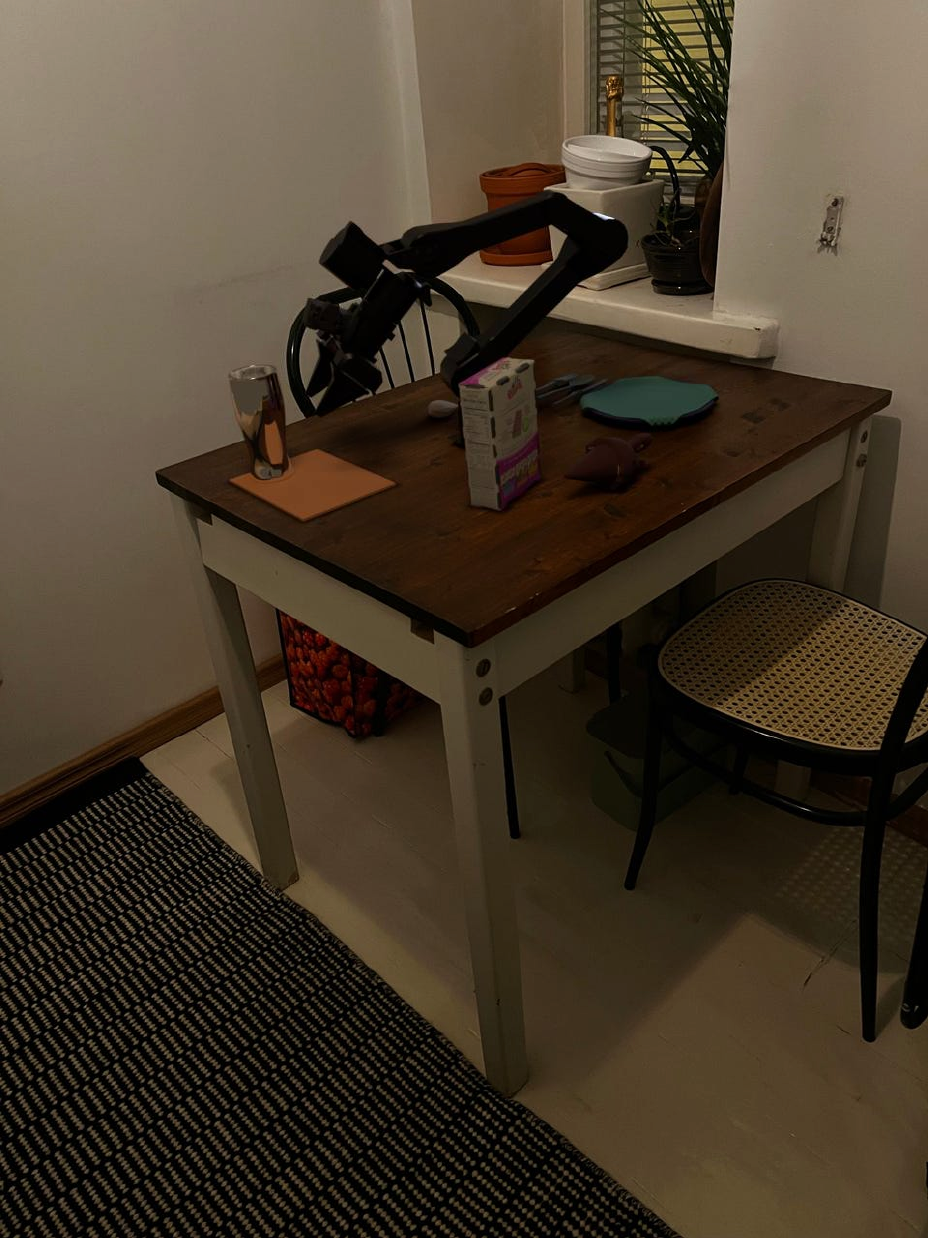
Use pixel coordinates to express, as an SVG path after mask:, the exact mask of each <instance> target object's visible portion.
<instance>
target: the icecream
mask: <svg viewBox="0 0 928 1238" xmlns="http://www.w3.org/2000/svg"><path fill="white" fill-rule="evenodd" d="M653 441H654V438H653V436H652V435H651V434H650V433H649V432H641V433H638V434H636V435H634V436H633V437H632V439H630V441H628V442H627V441H625V440H624V439H623V438H620V437H618V436H616V437H602V436H599V437H596V438H595V439H593V440H592V441H590V442H588V443H587V444H585V454H584V456H582V457H581V458H580V459H579V460H578V461H577V462H576V463H574V464H573V465H572V466H571V467H570V468H569V469H568V470H566V472H564V473H563V475H562V476H563V478H564V479H566V480H572V481H573V480H574V481H578V482H579V481H581V482H587V483H593V484H594V485H596V487H597V488H600V489H603V490H606V491H609V492H614V491H615V490H617V488H618V487H620V486H621V485H624V484H626V483H628V482H629V481H630V479H631V477H632V476H633V475H634V474H637V473H639V472H641V471H642V470H643V469H644V467H645V461H644V460H643V459H642V458H640V457H637V454H639V453H641V452H643V451H644V450H646V449H647V448H649V447H650V446H651V445H652V443H653Z"/></svg>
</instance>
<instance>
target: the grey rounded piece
mask: <svg viewBox="0 0 928 1238" xmlns="http://www.w3.org/2000/svg"><path fill="white" fill-rule="evenodd" d="M427 408H428V415H429V416H430V417H432V418H435V419H443V418H446V417H448V416H449V415H451V414H452V413H453V412H454V411H456V409H457V408H459V406H458V403H457V404H456V403H453V402H451V401H447V400H442V399H440V400H439V399H437V400H433V401H432V402H430V403H429V404H428V405H427Z"/></svg>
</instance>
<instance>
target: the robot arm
mask: <svg viewBox="0 0 928 1238" xmlns="http://www.w3.org/2000/svg"><path fill="white" fill-rule="evenodd" d="M550 226H552V227H553V228H555V229H556V230H558V231H559V232H561V233H562V234H564V235H566V236H565V238H564V240H563V243H562V245H561V247H560V250H559V252H558V254H557V257H556V258H555V259H554V261H552V263H551V264H550V265H549V266H547V268H546V269H545V270H543V272H542V273H541V274H540V275H539V276H537V278H536V279H535V280H534V281H533V282H532V283H531V284H530V285H529V286H527V288H526V289H525V290H524V291H523V292H522V294H520V295H519V296H518V297H517V298H516V299H515V300H514V301H513V302H512V303H511V304H510V306H509V307H507V309H505V311H504V312H502V313H501V314H500V315H499V316H498V317H497V318H496V320H494V321H493V323H492V324H491V325H490V326H489V327H488V328H487V329H486V330H485V331H483V332H482V333H479V334H478V335H476V336H471V335H470V334H468V333H467V332H466V331H464V332H462V333H461V335H460V336H459V337H458V338H457V340H456V341H455V342H454V344H453V345H452V346H450V347H449V348H447V349H444V350H443V352H444V354H446V355H445V356H444V357H443V358H442V360H441V362H440V363H439V376H440V380H441V382H442V383H443V384H444V385H445V387H446V388H448V390H450V391H451V392H452V394H453V395H454V396H455V397H457V398H458V399H459V400H458V401H457V405H458V410H457V415H458V427H459V436H460V437H458V438H454V439H453V440H452V442H453V445H456V446H459V447H462V448H464V449H465V443H464V434H463V426H462V415H461V405H460V395H459V386H458V384H460V383H461V382H463V381H465V380H466V379H468V378H470V377H471V376H473V375H475V374H476V373H478V372H480V371H481V370H483V369H485V368H486V367H488V366H490V365H492V364H493V363H495V362H497V361H498V360H500V359H502V358H506V357H509V355H510V354H511V353H512V352H513V350H514V349H516V347H518V345H520V343H521V342H522V341H523V340H525V339H526V337H527V336H528V335H530V333H531V332H533V331H534V329H536V327H537V326H538V325H539V324H540V323H542V321H543V320H545V318H546V317H548V315H550V314H551V312H552V311H553V310H554V309H555V308H556V307H557V306H559V304H560V303H561V302H562V301H563V300H564V299H565V298H566V297H567V296H568V295H569V294H570V293H571V292H572V291H573V290H574V289H576V287H577V286H578V285H579V284H581V283H582V282H584V281H587V280H588V279H591V278H592V277H594V276H597V275H599V274H601V273H603V272H604V271H606V270H607V269H609V268H610V267H611V266H612V265H614V264H615V263H616V262H618V261H619V260H620V259H622V258H623V256H624V255H625V254H626V252H627V250H628V248H629V240H630V239H629V230H628V228H627V227H626V225H625V224H624V223H623V222H622V221H621V220H619V219H617V218H614V217H611V216H607V215H604V214H601V213H598V212H592V211H591V210H588V209H587V208H585V207H584V206H581V205H580V204H578V203H576V202H575V201H573V200H572V199H570V198H569V197H568V196H567V195H566V194H564V192H560V191H556V190H552V189H544V190H542V191H540V192H538V193H537V194H535V195H532V196H530V197H526V198H524V199H521V200H517V201H515V202H513V203H509V204H506V205H504V206H501V207H498V208H495V209H492V210H490V211H487V212H484V213H481V214H478V215H475V216H472V217H469V218H466V219H463V220H460V221H453V222H437V223H429V224H424V225H423V224H422V225H416V226H412V227H411V228H408V229H407V230H406V231H404V232H403V234H402V237H401V238H397V239H394V240H390V241H387V242H383V243H380V244H378V243H377V242H376V241H374V240H373V239H372V238H370V236H368V235H367V234H366V233H365V232H364V230H363V229H362V228H361V227H360V226H358V225H357V224H356V223H355V222H354V221H352V220H349V221H348V223H346V225H345V226H344V227H343V228H342V229H341V230H339V231H338V232H337V233H336V234H335V235H334V237H331V238H330V240H329V241H328V242H327V243H326V245H325V247H324V249H323V250H322V252H321V254H320V257H319V259H318V264H319V265H320V266H321V267H322V268H323V269H325V270H326V271H327V272H329V273H330V274H331V275H332V276H334V277H335V278H337V279H338V280H339V281H340V282H341V283H342V284H344V285H345V286H346V287H348V289H351V291H353V292H355V291H358V290H359V289H362V290H363V291H364V290H365V291H366V290H368V291H367V292H366V294H365V296H364V297H363V298H362V299H361V300H360V302H359V303H358V302H357V301H355V302H352V303H351V304H350V306H349V307H348V308H347V309H346V308H344V307H341V306H340V305H338V304H337V303H335V304H333V303H331V302H329V300H327V301H322V300H319V299H315V298H312V297H307V299H306V303H305V307H304V311H303V313H302V314H303V315H302V316H301V317H302V318H301V322H302V323H304V324H303V325H304V327H306V328H308V329H310V330H313V331H316V333H315V334H316V336H317V337H318V338H317V337H316V338H315V343H316V347H317V353H318V358H317V359H316V363H315V367H314V368H313V371H312V374H311V376H310V378H309V381H308V383H307V386H306V389H305V392H304V393H305V395H306V396H307V397H309V398H313V397H315V396H317V395H318V394H320V393H321V392H322V391H324V390H325V391H324V393H323V395H322V396H321V398H320V400H319V402H318V404H317V406H316V409H315V411H314V414H315V415H316V416H317V417H318V418H323V417H325V416H327V415H328V414H332V413H333V412H334V411H336V410H338V409H340V408H342V407H344V406H345V405H347V404H350V403H352V402H354V401H356V400H357V399H360V398H362V397H364V396H368V395H370V393H373V394H375V393H377V391H378V389H379V388H380V387H381V385H382V384H383V383H384V381H383V380H384V379H383V373H382V371H381V370H380V368H379V367H378V366H377V365H376V363H377V362H378V359H377V357H376V355H377V354H378V353H379V351H380V350H381V349H382V347H383V346H384V345H385V343H386V342H387V341H388V340H389V342H393V340H394V339H395V337H397V336H396V334H395V333H394V331H395V330H396V329H397V328H398V325H400V323H401V322H402V321H403V319H404V318H405V316H406V315H407V313H408V312H409V311H410V309H411V308H412V307H413V305H414V304H415V302H416V301H417V300H419V301H421V302H422V303H423V304H424V305H426V306H427V307H428V308H430V307H432V306H433V300H432V294H431V292H432V285H431V284H429V283H428V282H427V281H425V282H421V283H420V282H418V281H417V280H416V279H415V278H413V276H412V275H410V274H409V273H408V272H406V271H405V270H407V271H408V270H409V271H411V272H412V273H414V274H415V275H417V276H418V277H420V278H423V279H428V280H430V279H435V278H438V277H440V276H442V275H443V274H445V273H447V272H449V271H450V270H452V269H454V268H455V267H457V266H459V265H460V264H461V263H462V262H463V261H465V260H466V259H468V257H470V256H471V255H473V254H474V253H477V252H479V251H482V250H484V249H488V248H491V247H493V246H496V245H498V244H502V243H504V242H507V241H510V240H513V239H517V238H518V237H521V236H524V235H527V234H530V233H533V232H535V231H538V230H541V229H543V228H547V227H550ZM385 261H387V262H389V263H390V264H391V265H393V266H394V267H396V269H398V270H401V271H399V272H398V273H394V271H392V270H390V269H389V268H388V267H387V266H386V265H384V262H385Z"/></svg>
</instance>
